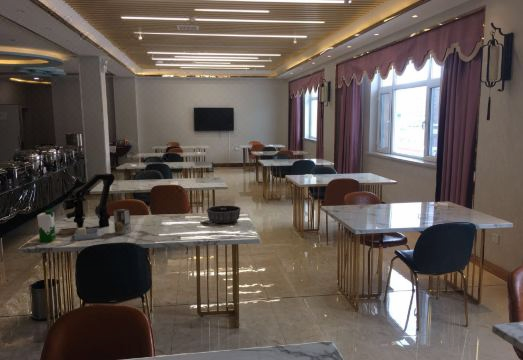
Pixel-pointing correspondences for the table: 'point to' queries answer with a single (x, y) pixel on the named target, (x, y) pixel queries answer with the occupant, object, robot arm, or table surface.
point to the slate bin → (87, 236)
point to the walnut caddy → (68, 231)
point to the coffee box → (122, 221)
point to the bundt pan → (223, 214)
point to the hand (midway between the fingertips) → (80, 229)
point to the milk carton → (46, 226)
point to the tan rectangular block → (81, 231)
